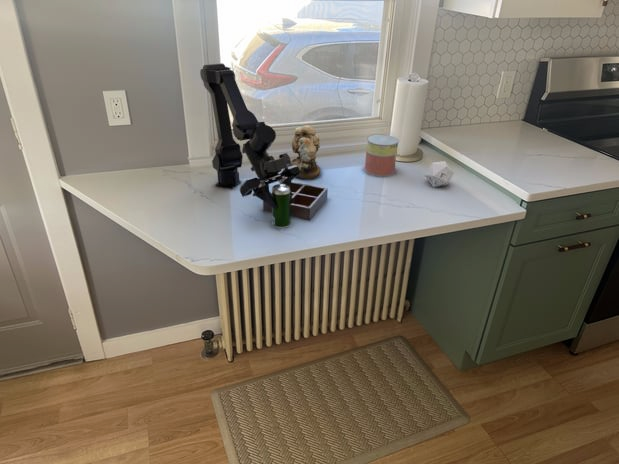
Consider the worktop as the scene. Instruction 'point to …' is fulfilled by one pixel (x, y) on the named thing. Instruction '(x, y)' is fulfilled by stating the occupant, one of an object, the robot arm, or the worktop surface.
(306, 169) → the beige bust sculpture
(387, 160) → the canned food
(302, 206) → the rack
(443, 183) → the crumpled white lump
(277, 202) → the beer can
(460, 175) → the worktop surface
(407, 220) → the worktop surface
